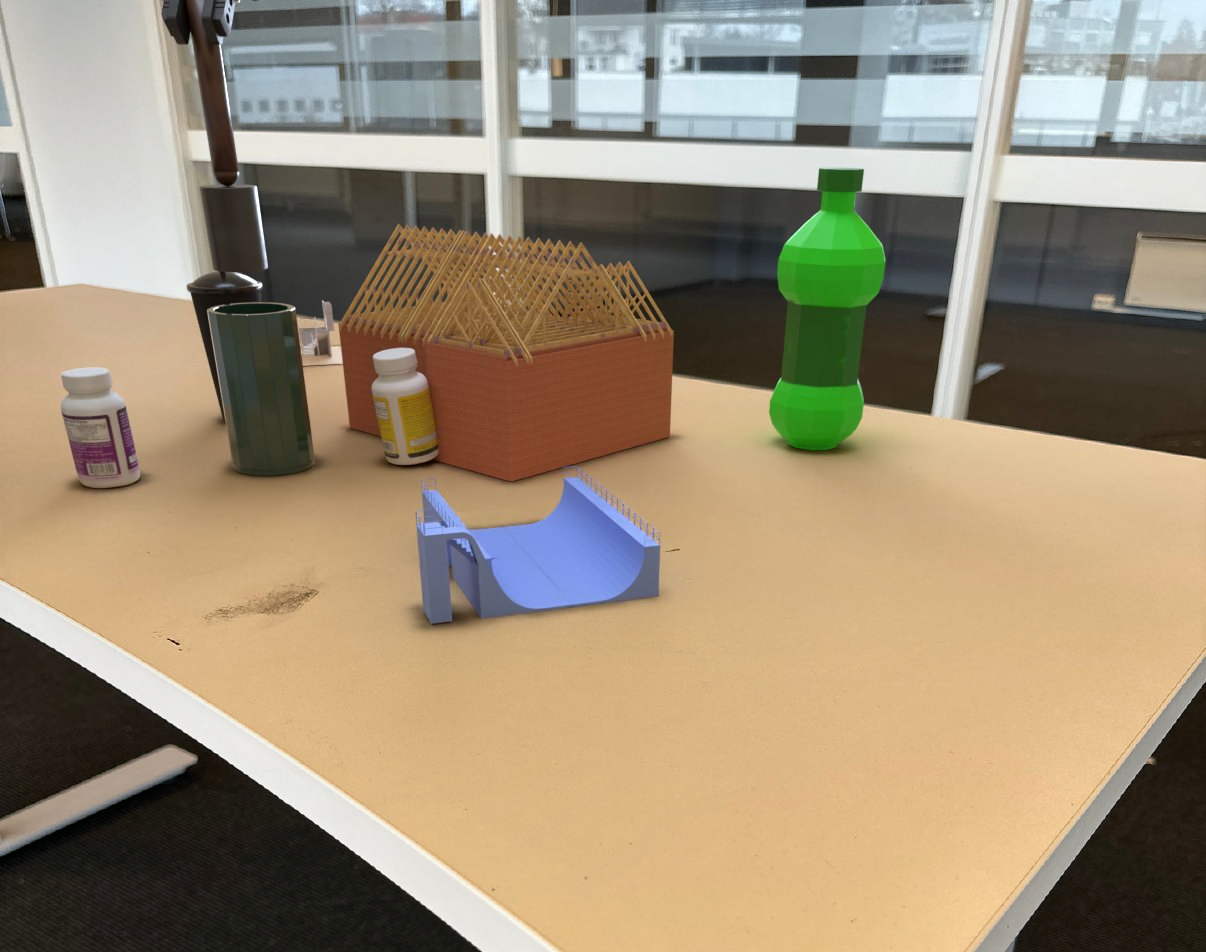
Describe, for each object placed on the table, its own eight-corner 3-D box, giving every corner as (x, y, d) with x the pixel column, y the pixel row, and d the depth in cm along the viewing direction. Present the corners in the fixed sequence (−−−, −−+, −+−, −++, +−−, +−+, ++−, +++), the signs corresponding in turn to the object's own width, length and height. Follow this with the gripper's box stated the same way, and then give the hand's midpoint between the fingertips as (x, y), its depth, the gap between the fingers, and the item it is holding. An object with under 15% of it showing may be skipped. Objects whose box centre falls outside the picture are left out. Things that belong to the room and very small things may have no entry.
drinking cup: (269, 407, 128) (240, 211, 118) (289, 421, 123) (262, 217, 112) (201, 415, 125) (166, 214, 115) (220, 429, 120) (184, 219, 109)
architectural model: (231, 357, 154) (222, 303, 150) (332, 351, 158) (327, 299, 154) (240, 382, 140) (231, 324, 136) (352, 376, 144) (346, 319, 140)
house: (673, 437, 118) (681, 234, 108) (514, 482, 103) (506, 252, 93) (492, 397, 134) (484, 216, 124) (332, 431, 119) (308, 229, 109)
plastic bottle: (752, 432, 120) (773, 166, 107) (848, 431, 121) (880, 166, 108) (774, 457, 112) (799, 171, 99) (876, 455, 113) (914, 171, 100)
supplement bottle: (447, 447, 111) (430, 344, 105) (430, 466, 107) (411, 360, 101) (396, 447, 112) (377, 346, 107) (377, 467, 108) (356, 362, 102)
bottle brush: (201, 270, 91) (149, -34, 81) (237, 264, 95) (192, -29, 84) (244, 273, 90) (197, -37, 79) (279, 267, 93) (238, -31, 82)
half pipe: (658, 598, 80) (662, 498, 76) (431, 627, 75) (423, 522, 71) (577, 523, 94) (577, 435, 90) (382, 543, 89) (373, 452, 86)
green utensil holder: (216, 470, 106) (188, 311, 99) (267, 451, 112) (245, 300, 105) (281, 480, 104) (257, 317, 96) (330, 460, 110) (311, 305, 102)
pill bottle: (113, 470, 106) (89, 363, 101) (153, 478, 104) (131, 368, 99) (66, 484, 102) (38, 373, 97) (107, 492, 100) (81, 379, 95)
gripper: (115, -203, 83) (77, -13, 79) (298, -205, 82) (268, -13, 78) (160, -100, 90) (127, 78, 86) (328, -102, 89) (302, 79, 85)
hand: (194, 34), depth 82 cm, fingers closed on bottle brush, 2 cm apart
